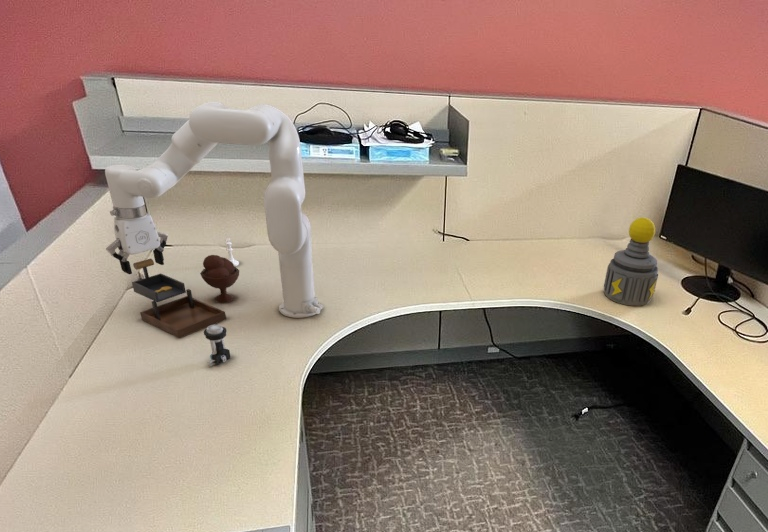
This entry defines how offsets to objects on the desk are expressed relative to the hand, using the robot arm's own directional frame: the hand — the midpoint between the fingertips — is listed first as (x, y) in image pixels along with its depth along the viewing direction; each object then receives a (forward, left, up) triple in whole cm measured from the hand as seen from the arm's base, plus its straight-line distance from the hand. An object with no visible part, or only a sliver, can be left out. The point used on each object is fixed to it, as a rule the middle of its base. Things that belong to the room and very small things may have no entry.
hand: (144, 268), depth 166 cm
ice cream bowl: (-12, -16, -12) cm, 23 cm away
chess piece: (+10, -36, -12) cm, 39 cm away
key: (-6, 0, -6) cm, 8 cm away
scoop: (-5, 0, -6) cm, 8 cm away
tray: (-15, 0, -12) cm, 19 cm away
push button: (-42, +9, -12) cm, 45 cm away
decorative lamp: (-116, -110, -12) cm, 160 cm away
